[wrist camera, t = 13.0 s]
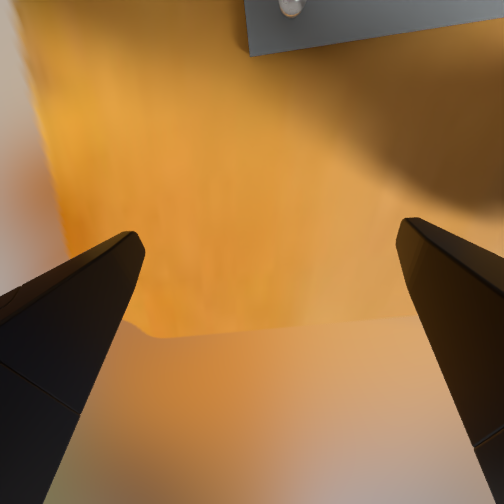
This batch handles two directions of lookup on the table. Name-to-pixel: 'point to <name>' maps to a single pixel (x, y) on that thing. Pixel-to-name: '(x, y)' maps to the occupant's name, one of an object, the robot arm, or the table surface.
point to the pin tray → (352, 20)
